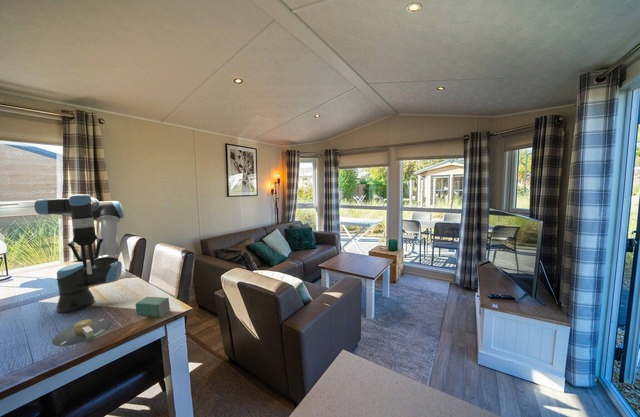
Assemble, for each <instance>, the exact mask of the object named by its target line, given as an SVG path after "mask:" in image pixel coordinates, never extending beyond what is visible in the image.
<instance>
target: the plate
mask: <svg viewBox="0 0 640 417" xmlns="http://www.w3.org/2000/svg"><path fill="white" fill-rule="evenodd" d="M91 320H92V326H93V333H94V335H92V336H90V337H86V336H85V335H84V334H83V335H75V331H74V325H72V326H70V327H68V328H66V329H64V330H62V331H60V332H59V333H58V334H56V335H55V336H54V337H53V338H52V341H51V343H52V344H53V345H54V346H56V347H57V346H58V347H64V346H72V345H77V344H80V343H84V342H88V341H89V340H92V339H94V338H96V337H98V336H100V335H102V334H103V333H106V332H107V331H108V330H109V329H110V328H111V326H113V321H112V320H111V319H109V318H96V319H91Z"/></svg>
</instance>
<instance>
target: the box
mask: <svg viewBox="0 0 640 417" xmlns="http://www.w3.org/2000/svg"><path fill="white" fill-rule="evenodd" d="M169 310H171V308H170V300H169V297H159V296H158V297H157V296H146V297H144V298H143V299H141V300H139V301H137V302H136V303H135V311H136V314H137V315H144V316H145V315H146V316H147V318H162V317H163V316H164V314H165V313H166V314H167V313H169V312H170V311H169ZM168 311H169V312H168ZM166 314H165V315H166ZM161 316H162V317H161Z"/></svg>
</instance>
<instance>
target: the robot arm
mask: <svg viewBox="0 0 640 417" xmlns="http://www.w3.org/2000/svg"><path fill="white" fill-rule="evenodd" d="M34 211H35V213H37V215H46V216H48V215H58V216H66V217H67V216H68V217H69V218H71V222H72V223H71V224H72V232H73V239H72V240H71V241H70V242H67V243H66V245H67V246H68V247H69V248H70V249H71V251H72V253H73V254H74V257H75V259H76V261H77V263H73V264H69V265H67V266H64V267H61V268H60V269H57V272H56V281H57V286H58V287H57V288H58V293H59V298H58V301H57V305H56V312H57V313H62V314H63V313H71V312H76V311H79V310H83V309H85V308H87V307H90V306H91V305H93V304H94V303H95V301H96V300H95V296H94V295H93V293H92V291H91V290H90V288H89V286H90V287H91V286H97V285H103V284H111V283H113V282H114V283H115V282H117V281H118V280H119V279H120V277H121V275H122V269H123V268H122V267H123V264H122V261H119V258H118V257H116V252H117V251H116V250H117V248H116V247H117V232H118V231H117V229H118V224H119V223H120V222H121V219H124V217H125V216H124V215H125V214H124V210H123V206H122V203H121V202H120V201H117V200H108V201H104V200H103V201H99V200H98V199H97V198H95V197H92V196H91V195H90V194H72V195H69V197H67V198H39V199H36V200H35V202H34ZM95 221H96V222H97V223H98V236H97V235H96V228H95V226H94V225H95ZM94 242H96V246H95V252H93V243H94ZM75 244H77V246H80V251H81V257H80V255H79V253H78V251H77V249H76V247H75ZM86 246H87V249H88V256H89V257H88V258H89V259H87V256H86Z"/></svg>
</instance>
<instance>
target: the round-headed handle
mask: <svg viewBox="0 0 640 417" xmlns="http://www.w3.org/2000/svg"><path fill="white" fill-rule="evenodd" d="M92 320H93V319H89V318H88V319H82V320H80V321H78V322H76V323H74V325H73V326H74V331H75V335H83V334H84V335H85V336H86V337H90V336H92V335H94V333H93V326H92Z"/></svg>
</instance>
